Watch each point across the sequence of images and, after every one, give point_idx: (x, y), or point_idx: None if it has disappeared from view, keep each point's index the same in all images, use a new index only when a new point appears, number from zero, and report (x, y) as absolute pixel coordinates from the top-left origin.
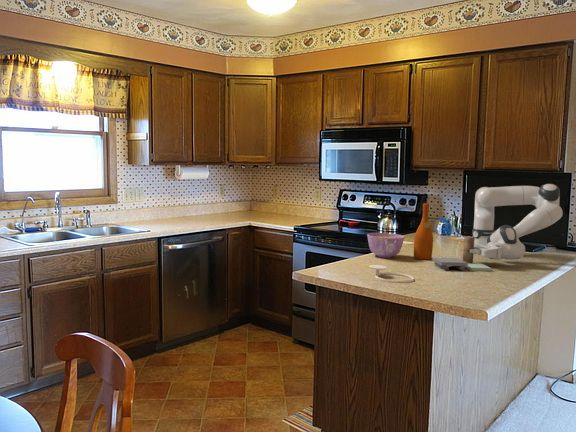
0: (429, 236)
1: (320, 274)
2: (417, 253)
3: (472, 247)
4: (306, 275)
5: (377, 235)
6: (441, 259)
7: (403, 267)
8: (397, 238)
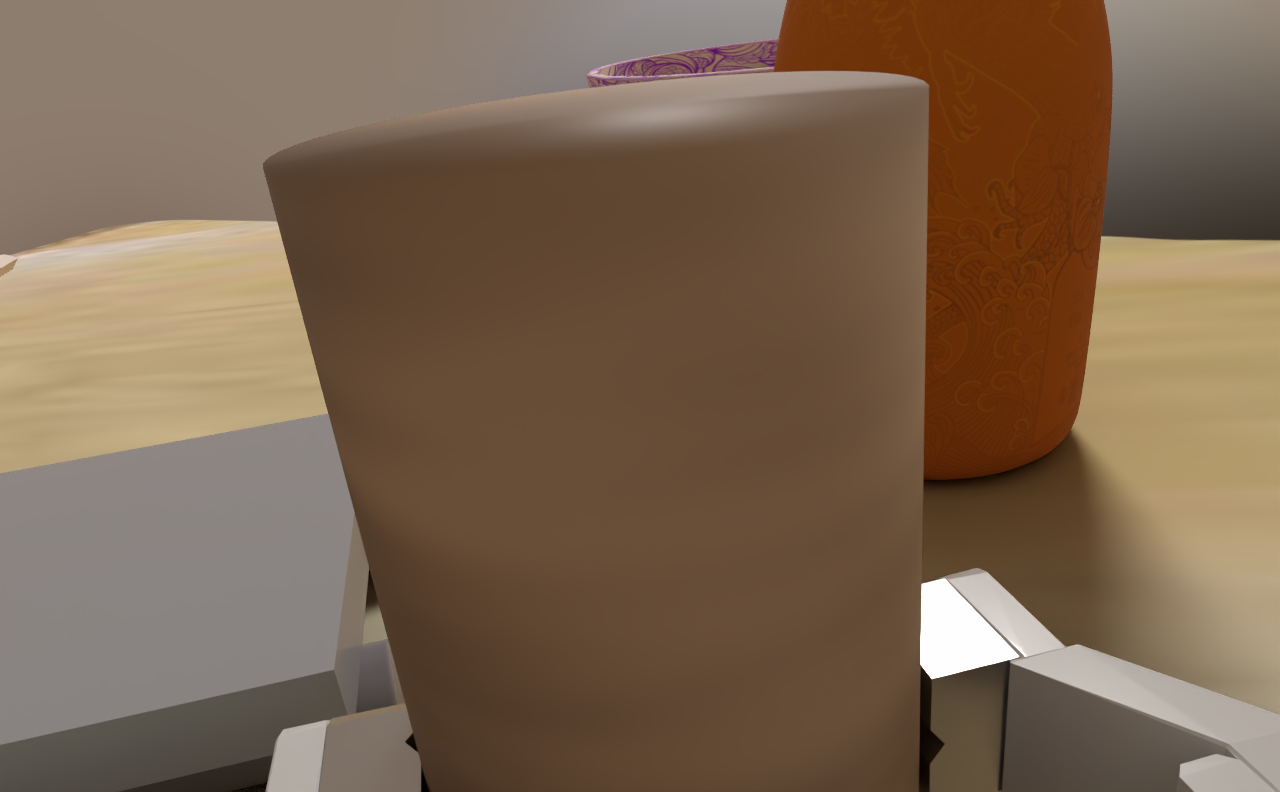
0: (814, 59)
1: (89, 247)
2: None
3: (420, 733)
4: (81, 236)
5: None
6: (177, 476)
7: (248, 379)
8: (624, 81)
